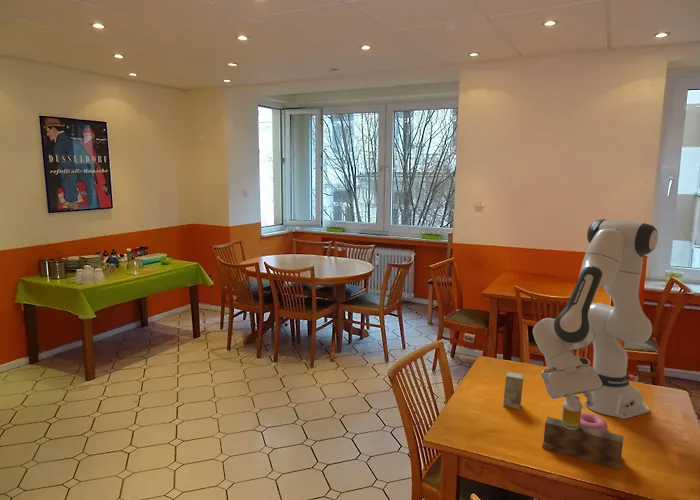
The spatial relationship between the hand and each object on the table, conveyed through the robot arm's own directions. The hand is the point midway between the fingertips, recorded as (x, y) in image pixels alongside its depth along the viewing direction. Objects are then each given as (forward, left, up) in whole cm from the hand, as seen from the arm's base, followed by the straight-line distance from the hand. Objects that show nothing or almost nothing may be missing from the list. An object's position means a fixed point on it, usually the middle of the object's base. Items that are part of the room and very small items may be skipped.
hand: (585, 407), depth 151 cm
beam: (-1, -1, -16) cm, 16 cm away
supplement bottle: (+2, -4, -8) cm, 9 cm away
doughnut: (-14, -13, -16) cm, 25 cm away
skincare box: (+3, -34, -16) cm, 38 cm away
